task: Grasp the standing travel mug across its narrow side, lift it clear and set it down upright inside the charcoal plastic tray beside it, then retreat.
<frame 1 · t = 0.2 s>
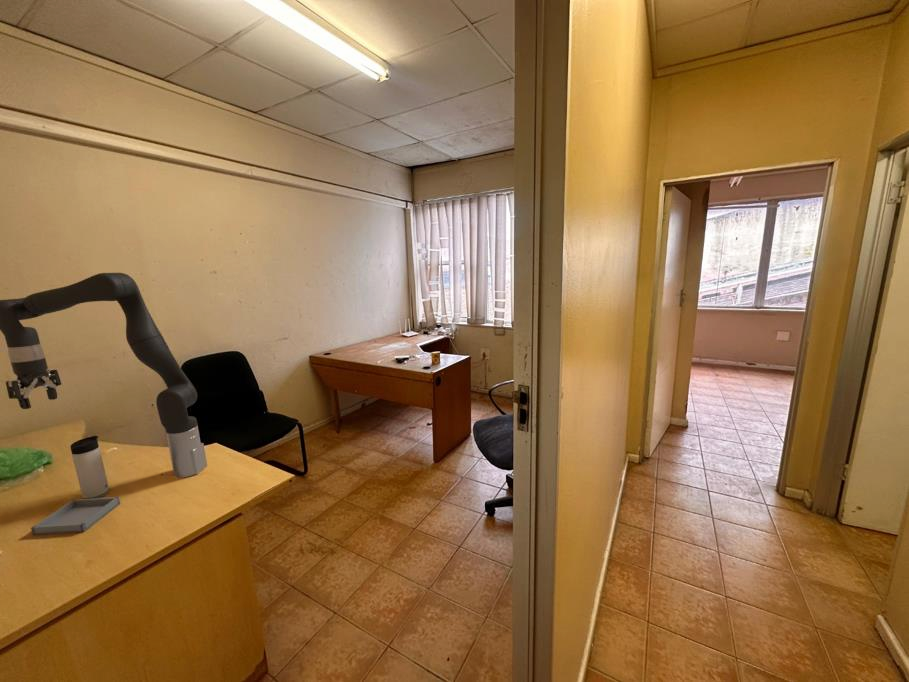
hand: (40, 403, 121), 29 cm above the table, fingers open, 8 cm apart
travel mug: (97, 495, 118), on the table
tray: (79, 518, 107), on the table
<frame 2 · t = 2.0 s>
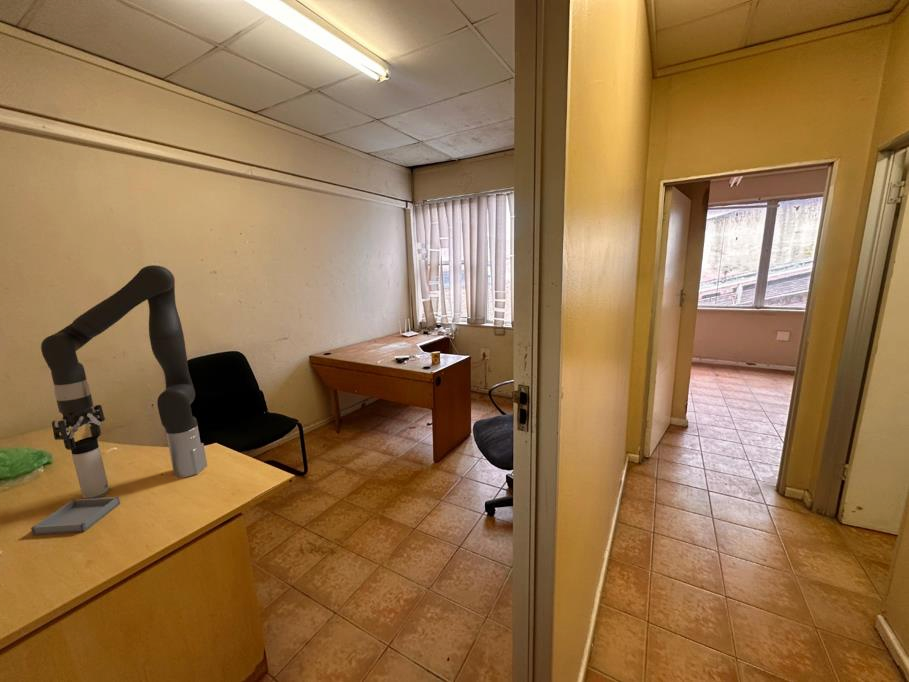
hand: (84, 442, 114), 19 cm above the table, fingers open, 8 cm apart
nothing on the table moved.
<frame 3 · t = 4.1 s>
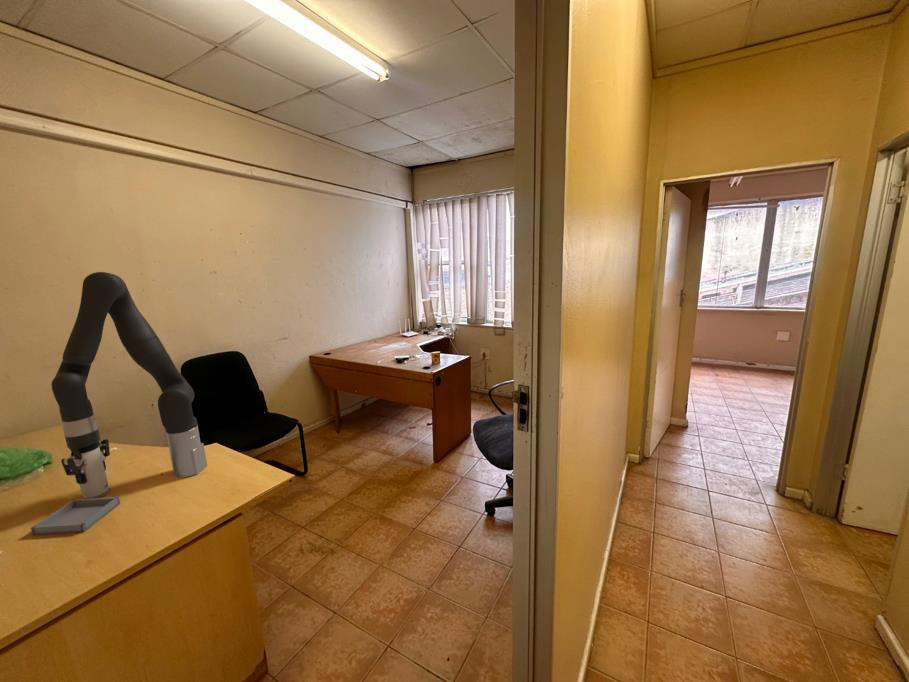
hand: (92, 477, 116), 7 cm above the table, fingers closed on travel mug, 6 cm apart
travel mug: (97, 495, 118), on the table, touching gripper
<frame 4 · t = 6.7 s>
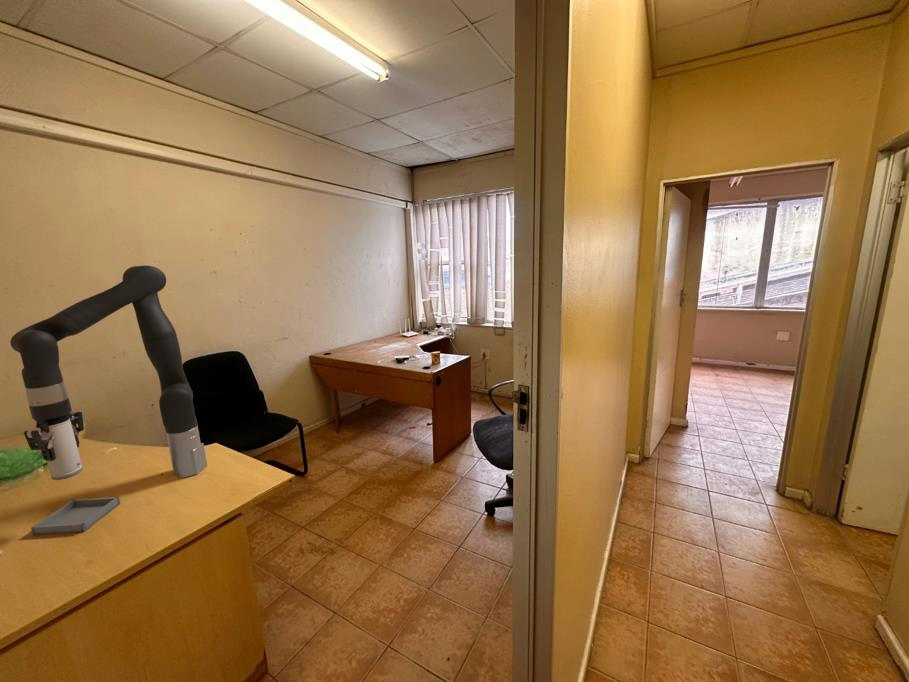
hand: (63, 453, 102), 22 cm above the table, fingers closed on travel mug, 6 cm apart
travel mug: (68, 474, 104), point 15 cm above the table, touching gripper
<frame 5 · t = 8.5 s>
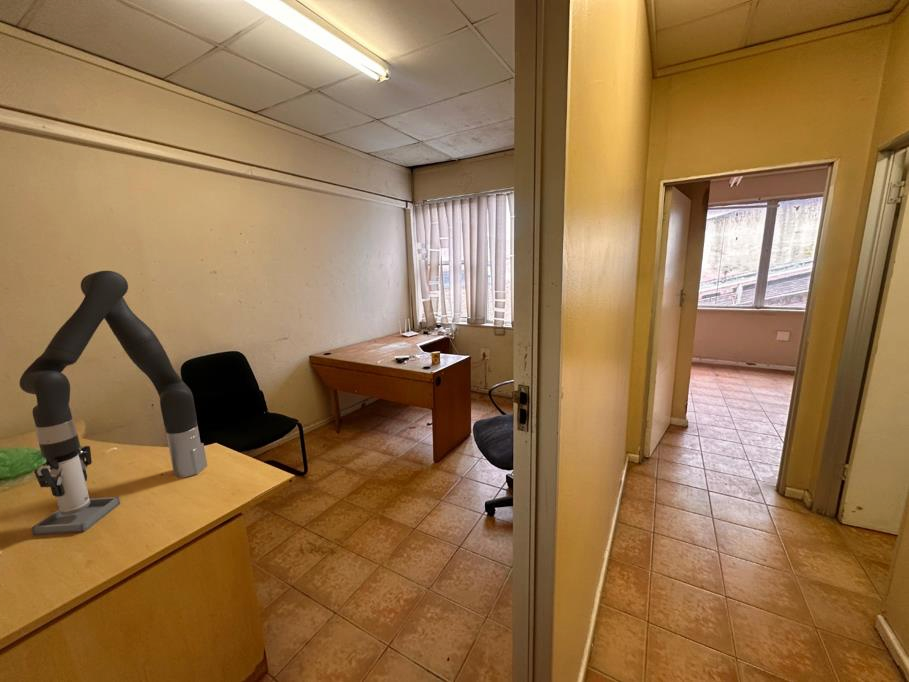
hand: (71, 488, 105), 10 cm above the table, fingers closed on travel mug, 6 cm apart
travel mug: (76, 508, 106), point 3 cm above the table, touching gripper
when the fingers open (9 cm above the table, at t = 9.8 s): travel mug drops 2 cm, resting on tray.
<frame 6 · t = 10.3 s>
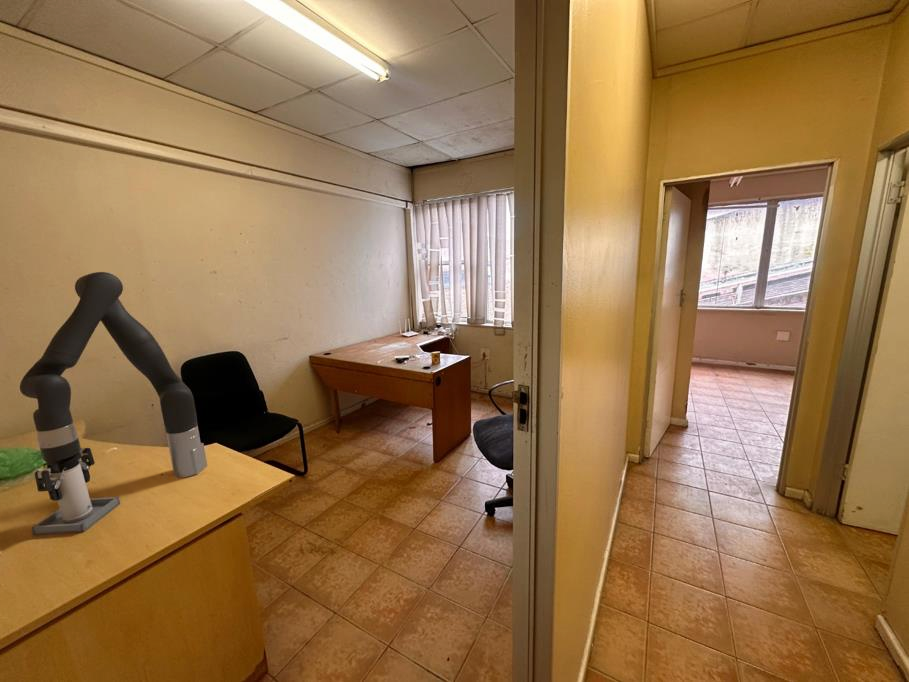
hand: (72, 490, 105), 10 cm above the table, fingers open, 8 cm apart
travel mug: (79, 516, 107), resting on tray
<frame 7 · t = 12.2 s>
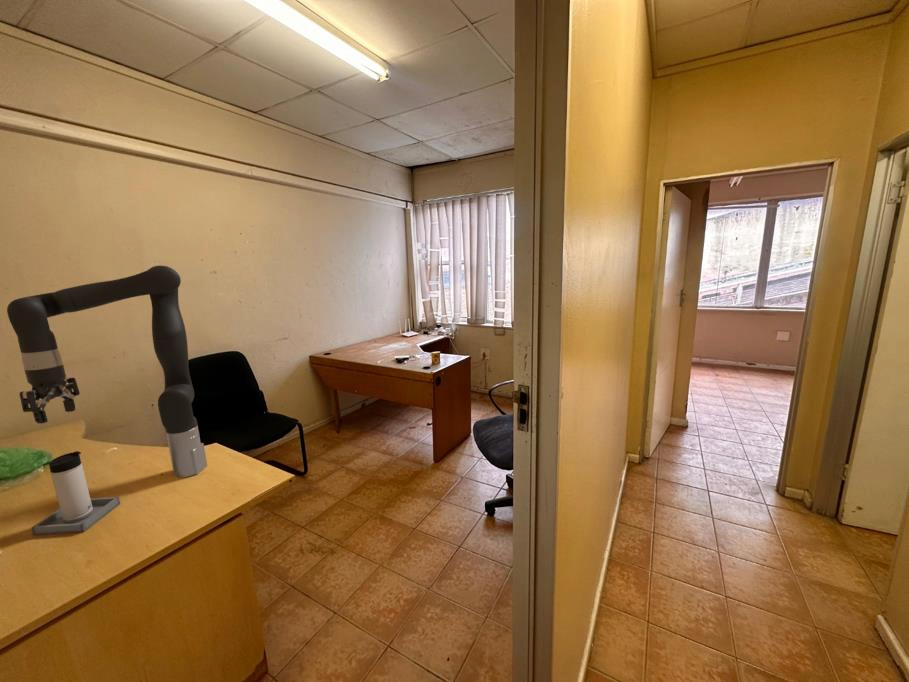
hand: (57, 416, 106), 30 cm above the table, fingers open, 8 cm apart
nothing on the table moved.
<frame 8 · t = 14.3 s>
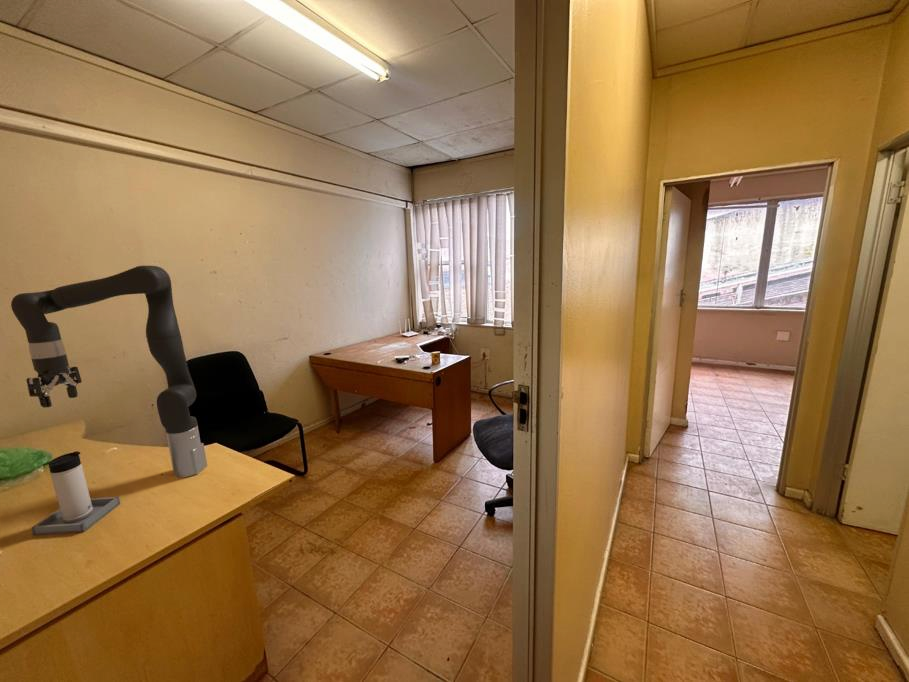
hand: (60, 402, 116), 31 cm above the table, fingers open, 8 cm apart
nothing on the table moved.
at the end: travel mug inside the target area on the tray (0.2 cm from its centre), point 0.4 cm above the tray's base; travel mug tilted 0°; the gripper is holding nothing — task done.
